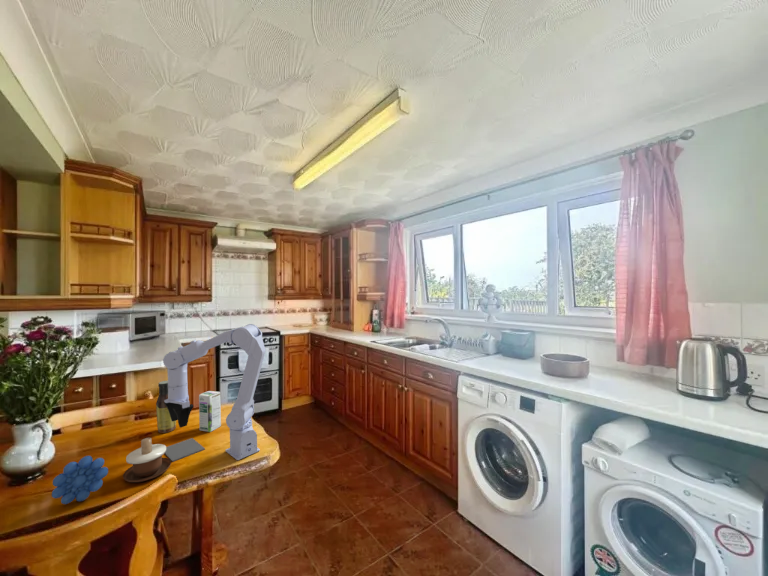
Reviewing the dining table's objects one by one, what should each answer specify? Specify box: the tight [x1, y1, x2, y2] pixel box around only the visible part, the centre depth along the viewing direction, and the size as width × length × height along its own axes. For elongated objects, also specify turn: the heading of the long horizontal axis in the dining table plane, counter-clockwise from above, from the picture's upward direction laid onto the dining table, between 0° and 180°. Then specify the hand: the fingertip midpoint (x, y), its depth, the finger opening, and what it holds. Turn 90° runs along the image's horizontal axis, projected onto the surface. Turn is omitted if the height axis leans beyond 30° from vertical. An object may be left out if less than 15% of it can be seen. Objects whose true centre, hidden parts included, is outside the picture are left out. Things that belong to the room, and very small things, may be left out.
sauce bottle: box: [155, 380, 177, 434], centre depth 128 cm, size 6×6×20 cm
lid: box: [125, 437, 167, 465], centre depth 99 cm, size 10×10×5 cm
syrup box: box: [198, 390, 222, 433], centre depth 129 cm, size 6×6×14 cm
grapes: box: [51, 455, 109, 505], centre depth 88 cm, size 12×7×12 cm, turn 119°
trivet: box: [164, 437, 206, 463], centre depth 113 cm, size 12×10×1 cm
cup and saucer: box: [122, 455, 172, 483], centre depth 99 cm, size 12×12×6 cm
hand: (179, 423), depth 111 cm, fingers open, 7 cm apart
